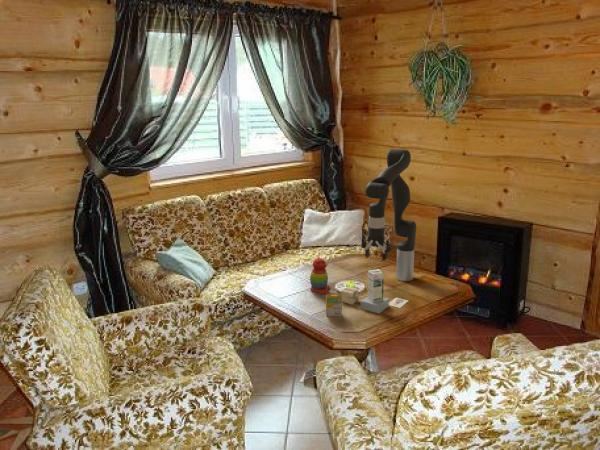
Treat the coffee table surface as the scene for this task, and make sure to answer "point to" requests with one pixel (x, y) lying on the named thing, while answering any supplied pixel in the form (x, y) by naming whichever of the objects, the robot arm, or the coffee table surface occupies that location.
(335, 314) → the crayon box
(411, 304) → the coffee table surface
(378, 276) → the syrup box
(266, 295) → the coffee table surface
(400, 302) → the page
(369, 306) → the base brick
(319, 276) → the stacking bear
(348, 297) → the birch cube
